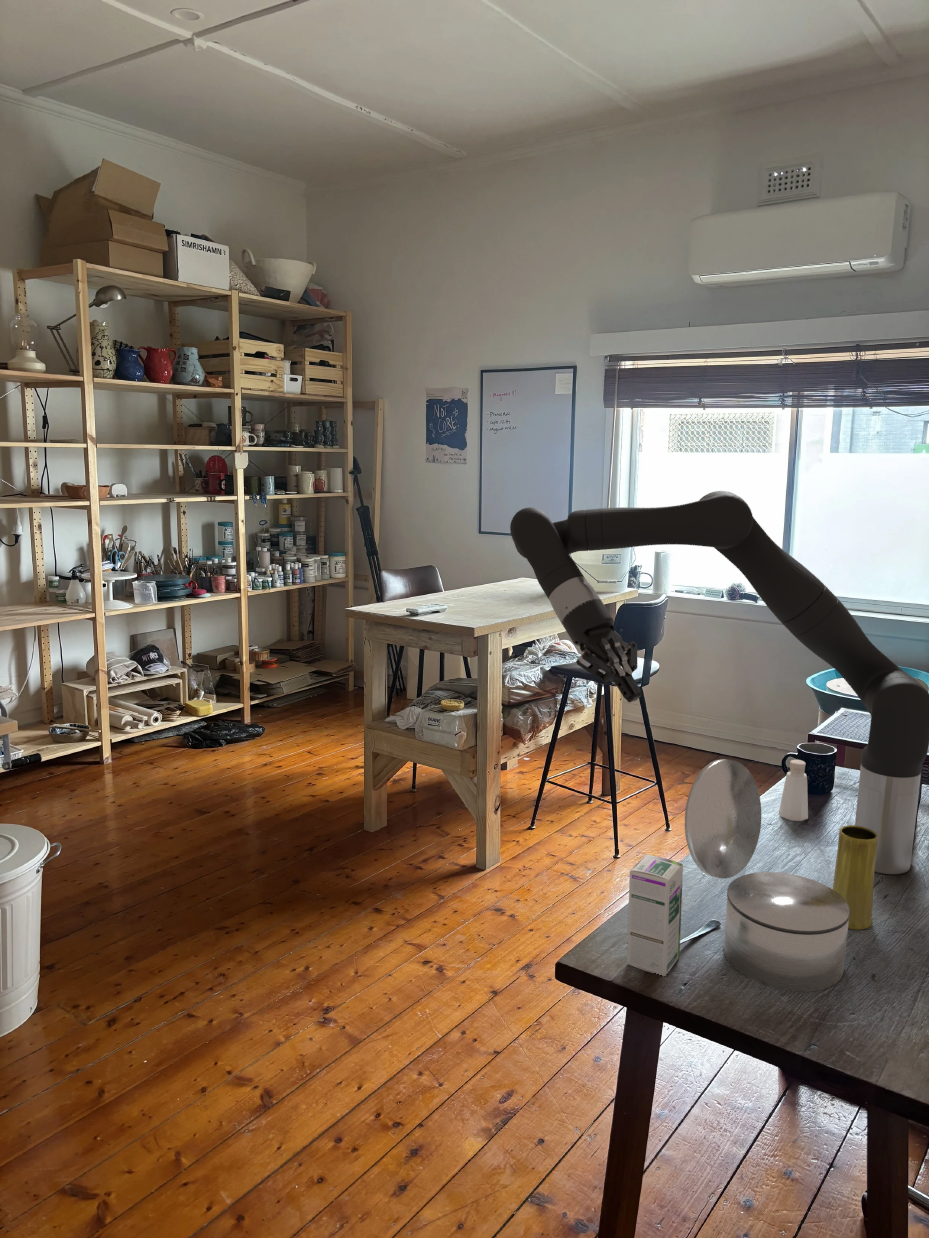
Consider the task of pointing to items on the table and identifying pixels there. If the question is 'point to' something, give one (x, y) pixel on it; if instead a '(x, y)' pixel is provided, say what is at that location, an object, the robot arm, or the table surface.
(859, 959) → the table surface
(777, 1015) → the table surface
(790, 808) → the pepper shaker
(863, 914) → the vase
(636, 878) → the syrup box
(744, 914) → the steel pot
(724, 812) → the pot lid
